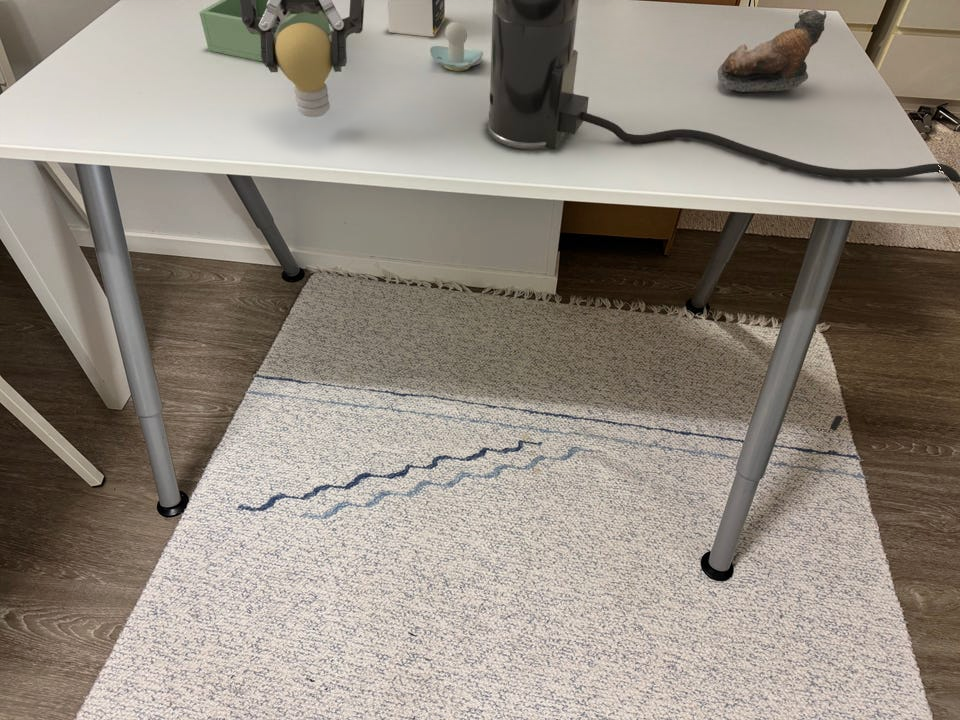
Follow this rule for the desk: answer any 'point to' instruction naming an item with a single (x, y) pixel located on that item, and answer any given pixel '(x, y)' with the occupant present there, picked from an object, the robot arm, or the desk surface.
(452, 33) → the pacifier
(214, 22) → the green open-top box
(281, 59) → the light bulb
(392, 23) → the white box
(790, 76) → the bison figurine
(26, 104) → the desk surface
